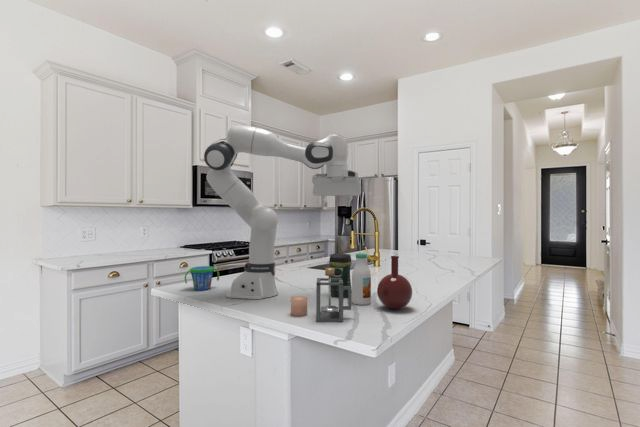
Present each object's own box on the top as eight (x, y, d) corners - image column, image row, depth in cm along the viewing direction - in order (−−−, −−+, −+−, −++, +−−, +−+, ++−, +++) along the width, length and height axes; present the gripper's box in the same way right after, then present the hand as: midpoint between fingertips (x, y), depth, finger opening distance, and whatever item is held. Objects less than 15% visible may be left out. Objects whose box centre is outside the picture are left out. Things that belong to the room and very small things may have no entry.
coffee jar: (353, 294, 161) (354, 253, 161) (347, 298, 154) (347, 255, 154) (333, 292, 165) (334, 252, 165) (326, 296, 158) (326, 253, 158)
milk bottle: (355, 306, 141) (356, 255, 141) (348, 301, 149) (349, 253, 149) (373, 304, 144) (374, 254, 143) (366, 300, 151) (366, 252, 151)
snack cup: (184, 292, 163) (185, 270, 163) (184, 288, 172) (184, 266, 172) (220, 290, 169) (220, 268, 169) (217, 285, 178) (218, 265, 178)
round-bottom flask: (403, 315, 129) (403, 259, 129) (370, 309, 137) (371, 256, 137) (417, 307, 139) (417, 256, 139) (386, 302, 147) (386, 253, 147)
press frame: (316, 321, 121) (316, 283, 121) (317, 314, 130) (317, 278, 130) (352, 322, 121) (352, 283, 121) (350, 314, 130) (350, 278, 130)
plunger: (320, 312, 122) (321, 269, 122) (321, 307, 128) (321, 266, 128) (338, 312, 122) (338, 269, 122) (337, 308, 128) (338, 267, 128)
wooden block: (289, 316, 127) (289, 299, 127) (291, 312, 133) (291, 295, 133) (306, 316, 127) (306, 299, 126) (307, 312, 133) (307, 295, 132)
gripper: (311, 172, 148) (311, 206, 148) (361, 172, 148) (361, 206, 148) (312, 174, 154) (312, 206, 154) (360, 174, 154) (360, 206, 154)
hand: (336, 206), depth 151 cm, fingers open, 8 cm apart
